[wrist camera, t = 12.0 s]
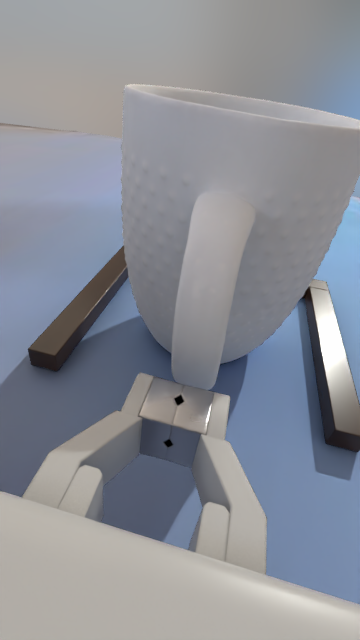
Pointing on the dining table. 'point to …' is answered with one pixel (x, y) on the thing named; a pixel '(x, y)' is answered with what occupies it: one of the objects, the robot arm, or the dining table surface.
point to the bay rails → (327, 346)
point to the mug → (227, 215)
